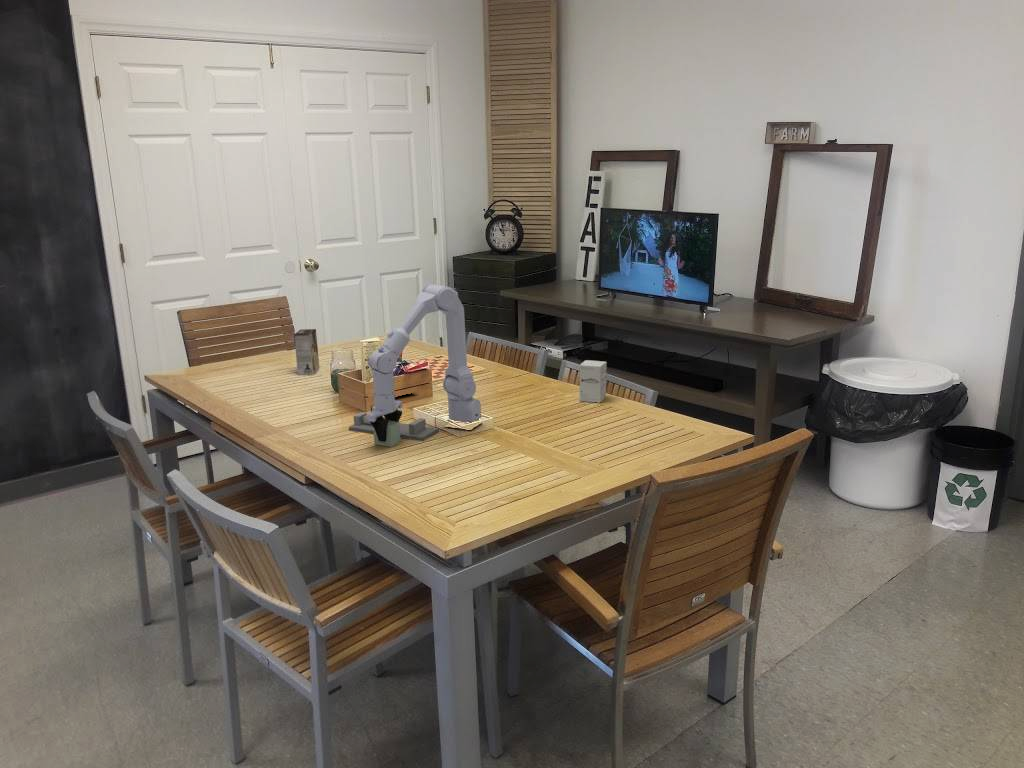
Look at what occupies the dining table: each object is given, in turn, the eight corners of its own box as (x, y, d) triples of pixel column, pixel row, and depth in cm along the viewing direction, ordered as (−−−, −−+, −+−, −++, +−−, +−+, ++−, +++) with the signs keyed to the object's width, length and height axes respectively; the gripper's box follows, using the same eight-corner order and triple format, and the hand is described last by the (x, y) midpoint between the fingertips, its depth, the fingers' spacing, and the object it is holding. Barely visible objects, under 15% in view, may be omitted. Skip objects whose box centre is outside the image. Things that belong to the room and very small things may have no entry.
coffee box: (303, 369, 319) (299, 329, 315) (320, 369, 319) (316, 328, 315) (297, 375, 310) (293, 334, 306) (314, 375, 310) (310, 333, 306)
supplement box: (578, 401, 270) (578, 364, 266) (585, 395, 276) (585, 359, 273) (600, 403, 267) (600, 366, 263) (606, 397, 273) (606, 360, 270)
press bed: (438, 431, 243) (438, 418, 242) (422, 440, 236) (422, 427, 235) (366, 421, 254) (365, 409, 253) (349, 430, 246) (348, 417, 245)
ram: (394, 423, 248) (393, 405, 246) (383, 429, 243) (382, 410, 241) (369, 419, 252) (368, 402, 250) (358, 425, 246) (357, 407, 245)
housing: (400, 441, 235) (399, 422, 233) (392, 446, 231) (390, 426, 230) (383, 439, 238) (381, 419, 236) (374, 444, 234) (372, 424, 232)
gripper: (386, 384, 238) (389, 428, 242) (357, 398, 226) (360, 444, 229) (407, 387, 235) (409, 431, 239) (378, 400, 223) (381, 447, 226)
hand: (387, 438), depth 234 cm, fingers closed on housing, 4 cm apart
